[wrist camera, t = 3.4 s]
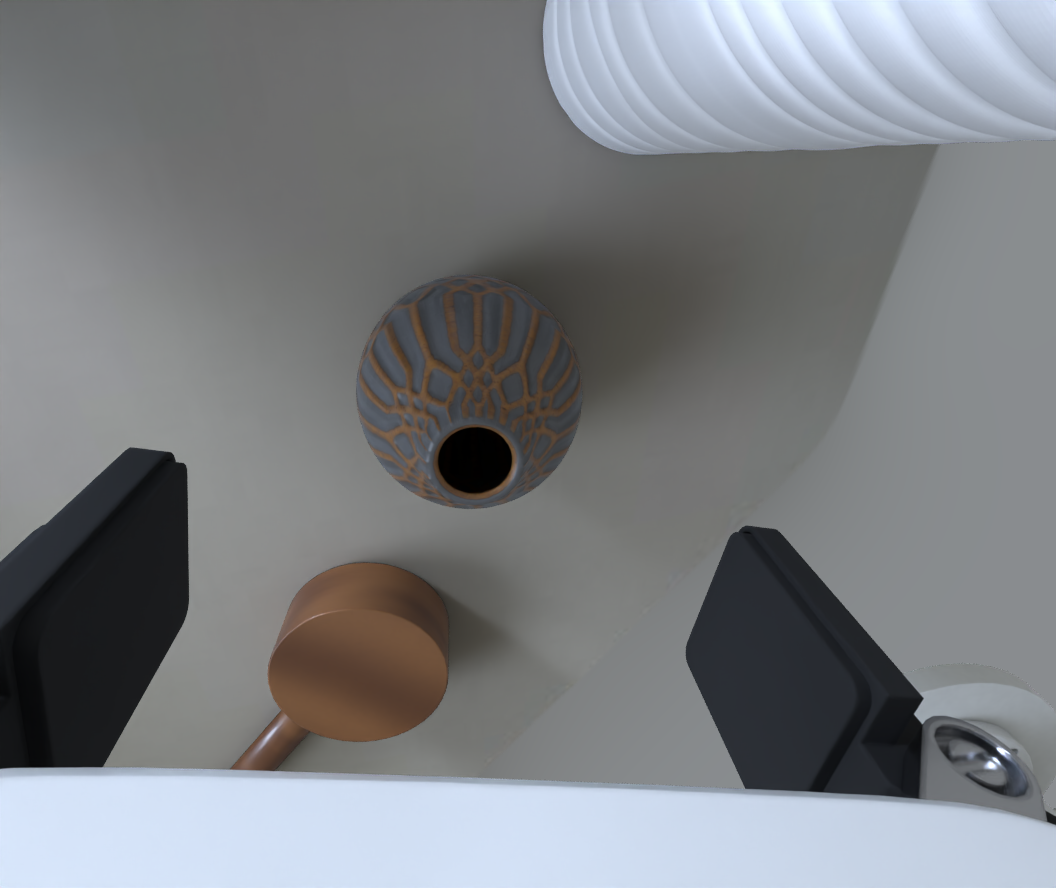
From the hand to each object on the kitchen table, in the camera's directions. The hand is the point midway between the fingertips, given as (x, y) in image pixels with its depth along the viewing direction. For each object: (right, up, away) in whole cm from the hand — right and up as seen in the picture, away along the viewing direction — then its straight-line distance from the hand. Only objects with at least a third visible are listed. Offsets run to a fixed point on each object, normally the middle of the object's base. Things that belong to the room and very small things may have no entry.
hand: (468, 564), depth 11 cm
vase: (-1, +5, +12) cm, 13 cm away
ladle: (-11, -12, +19) cm, 25 cm away
